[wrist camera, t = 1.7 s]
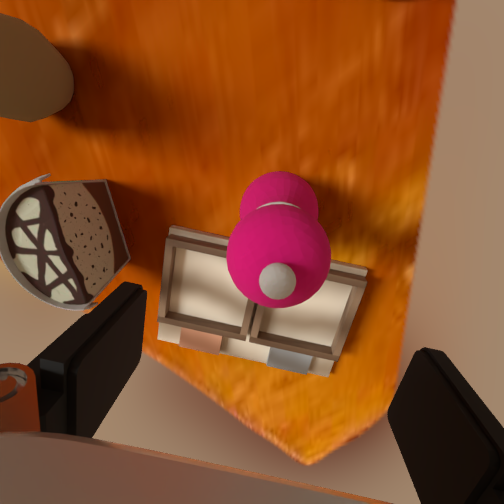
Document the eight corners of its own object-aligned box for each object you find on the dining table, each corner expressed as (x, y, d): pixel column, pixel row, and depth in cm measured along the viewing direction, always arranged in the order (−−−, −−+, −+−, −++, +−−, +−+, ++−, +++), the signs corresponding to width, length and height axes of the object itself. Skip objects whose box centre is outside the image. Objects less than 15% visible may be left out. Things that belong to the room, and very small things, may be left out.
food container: (50, 174, 34) (-38, 188, 24) (101, 165, 33) (31, 176, 24) (87, 276, 38) (24, 321, 29) (134, 270, 37) (85, 315, 28)
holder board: (172, 224, 35) (164, 231, 32) (365, 267, 34) (371, 276, 32) (160, 334, 40) (152, 346, 38) (327, 371, 40) (330, 386, 37)
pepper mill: (323, 220, 33) (379, 329, 14) (261, 244, 35) (238, 371, 16) (299, 155, 31) (327, 183, 12) (233, 184, 32) (171, 247, 14)
